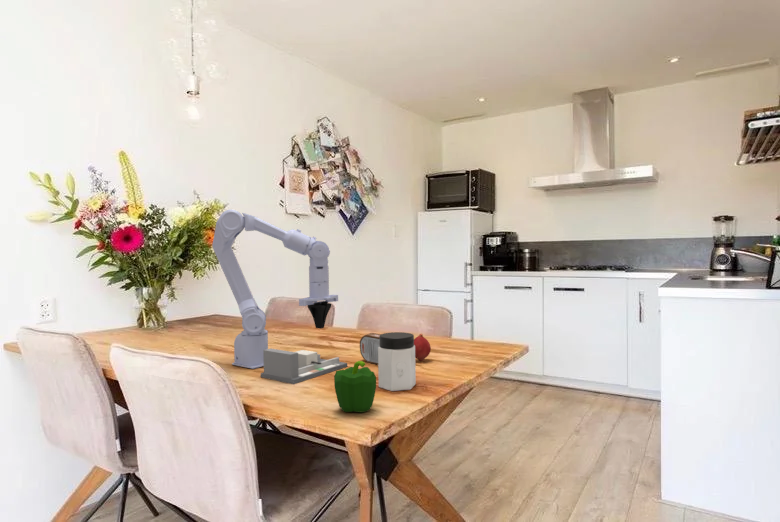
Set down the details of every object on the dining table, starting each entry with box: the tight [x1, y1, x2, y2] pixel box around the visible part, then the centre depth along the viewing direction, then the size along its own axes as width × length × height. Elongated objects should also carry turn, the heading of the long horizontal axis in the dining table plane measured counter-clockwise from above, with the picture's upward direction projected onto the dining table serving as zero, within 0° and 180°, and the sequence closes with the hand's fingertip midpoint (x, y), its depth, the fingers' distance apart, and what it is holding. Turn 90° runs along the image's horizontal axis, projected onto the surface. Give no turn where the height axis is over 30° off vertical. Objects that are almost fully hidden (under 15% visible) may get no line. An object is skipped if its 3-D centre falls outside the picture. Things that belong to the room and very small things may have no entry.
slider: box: [295, 349, 321, 368], centre depth 122 cm, size 9×4×4 cm, turn 55°
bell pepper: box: [333, 360, 377, 413], centre depth 93 cm, size 8×8×10 cm
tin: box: [359, 332, 382, 366], centre depth 130 cm, size 15×3×8 cm, turn 45°
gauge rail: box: [260, 348, 348, 385], centre depth 123 cm, size 12×20×7 cm, turn 145°
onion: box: [414, 333, 432, 362], centre depth 133 cm, size 6×6×8 cm
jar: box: [377, 331, 417, 392], centre depth 109 cm, size 9×8×12 cm
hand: (319, 328), depth 136 cm, fingers closed
